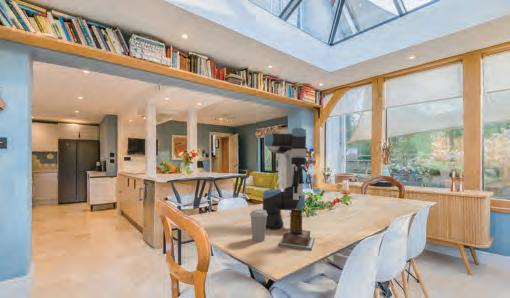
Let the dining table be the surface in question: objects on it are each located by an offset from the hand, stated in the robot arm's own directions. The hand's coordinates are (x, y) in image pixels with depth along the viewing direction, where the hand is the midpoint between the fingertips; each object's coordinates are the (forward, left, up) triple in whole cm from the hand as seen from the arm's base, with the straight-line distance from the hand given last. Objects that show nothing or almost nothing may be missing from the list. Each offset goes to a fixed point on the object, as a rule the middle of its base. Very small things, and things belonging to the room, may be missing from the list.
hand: (298, 197), depth 123 cm
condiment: (0, -2, -18) cm, 18 cm away
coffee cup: (-20, -5, -23) cm, 31 cm away
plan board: (0, -2, -23) cm, 23 cm away
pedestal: (0, -2, -23) cm, 23 cm away
